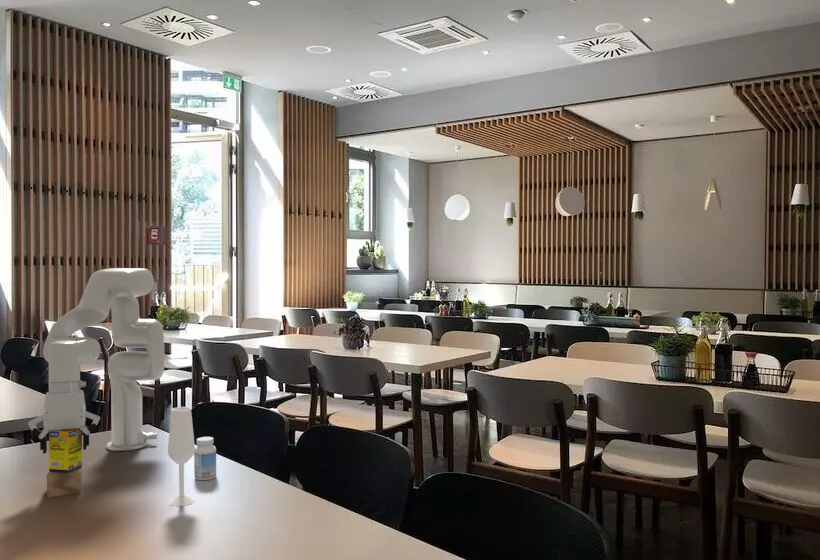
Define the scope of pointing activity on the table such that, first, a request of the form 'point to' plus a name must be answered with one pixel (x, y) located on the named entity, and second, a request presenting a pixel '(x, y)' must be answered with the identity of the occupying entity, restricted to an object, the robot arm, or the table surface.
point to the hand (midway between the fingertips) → (65, 450)
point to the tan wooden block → (64, 483)
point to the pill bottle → (205, 459)
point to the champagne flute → (181, 448)
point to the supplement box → (65, 450)
